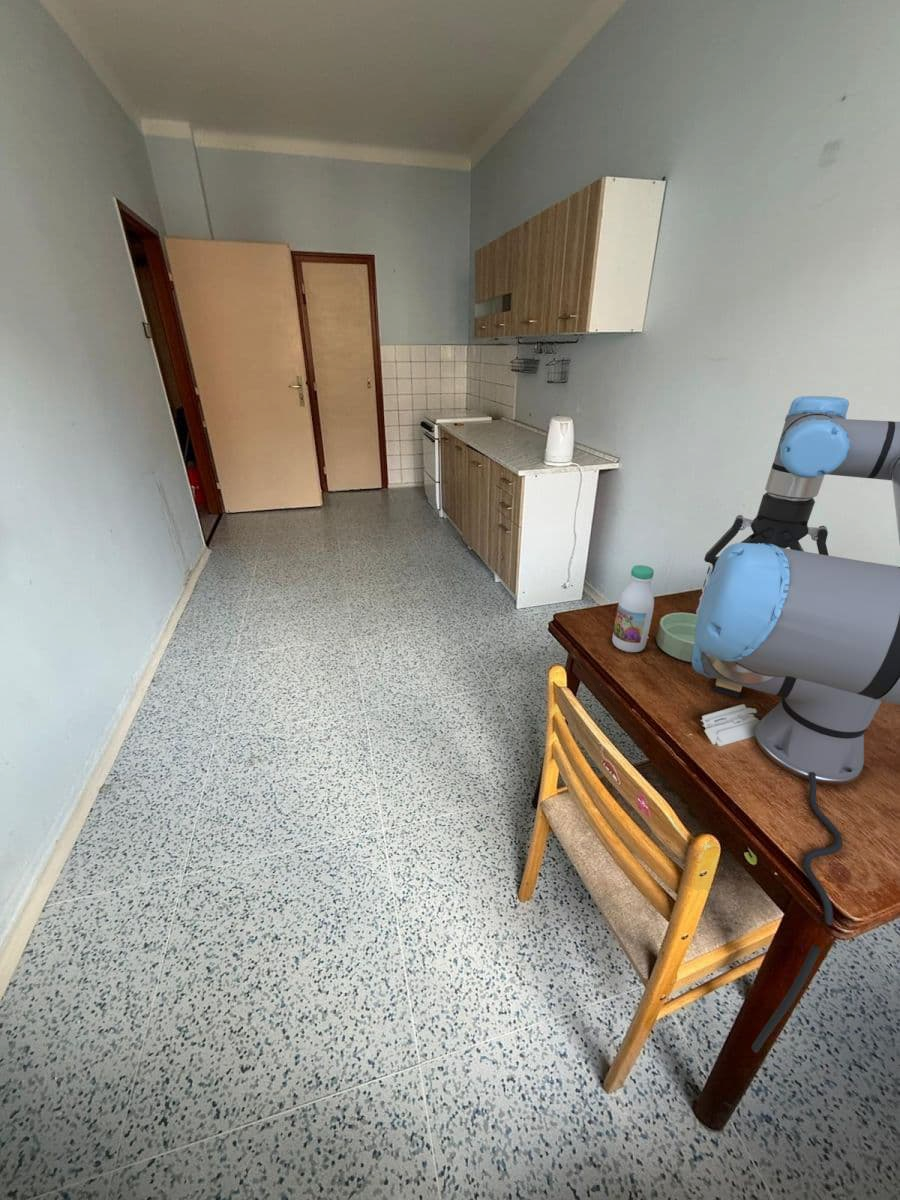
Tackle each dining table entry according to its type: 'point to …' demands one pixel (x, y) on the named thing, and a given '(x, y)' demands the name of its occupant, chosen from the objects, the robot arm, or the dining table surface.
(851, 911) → the dining table surface
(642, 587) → the milk bottle
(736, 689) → the brush
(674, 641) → the bowl
